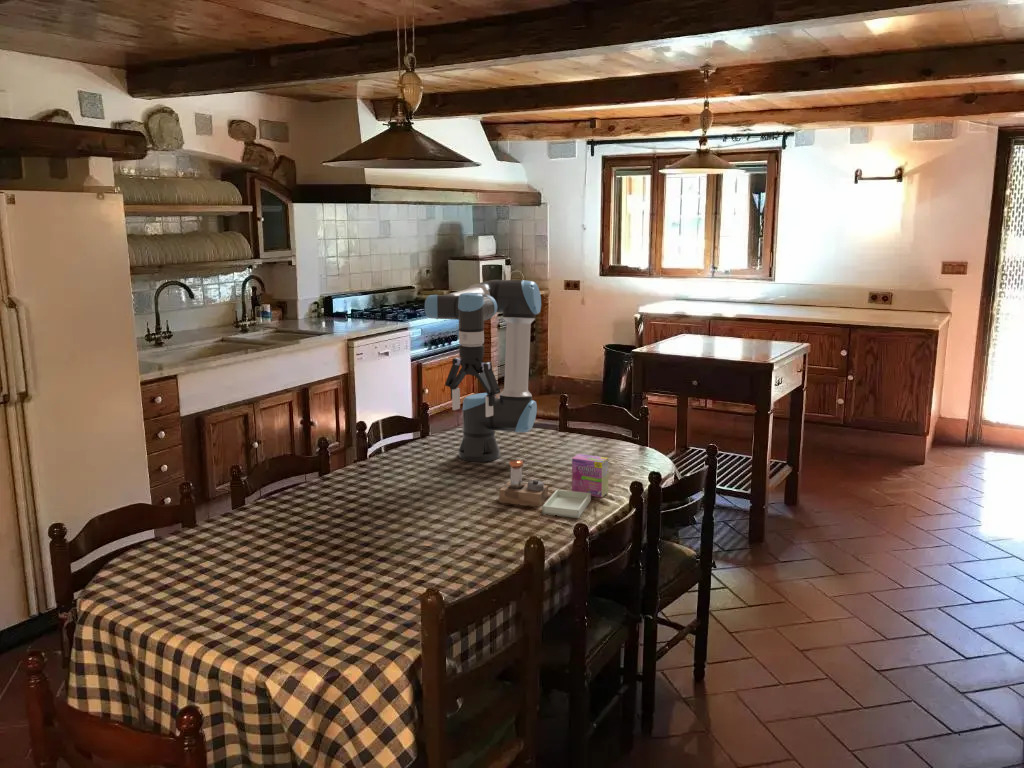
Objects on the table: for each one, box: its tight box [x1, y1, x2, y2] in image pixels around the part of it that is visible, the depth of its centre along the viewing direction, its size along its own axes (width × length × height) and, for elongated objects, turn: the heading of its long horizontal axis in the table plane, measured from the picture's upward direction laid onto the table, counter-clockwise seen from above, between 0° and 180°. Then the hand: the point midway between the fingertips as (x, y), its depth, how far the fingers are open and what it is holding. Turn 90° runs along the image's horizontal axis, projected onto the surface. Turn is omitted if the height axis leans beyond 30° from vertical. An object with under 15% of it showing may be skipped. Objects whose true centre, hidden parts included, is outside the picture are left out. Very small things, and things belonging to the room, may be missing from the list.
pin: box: [508, 459, 524, 490], centre depth 255 cm, size 4×4×12 cm
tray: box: [541, 489, 592, 519], centre depth 249 cm, size 16×11×2 cm
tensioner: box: [498, 479, 549, 508], centre depth 255 cm, size 9×13×7 cm
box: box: [571, 453, 610, 498], centre depth 261 cm, size 10×6×12 cm, turn 62°
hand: (472, 412), depth 252 cm, fingers open, 13 cm apart
